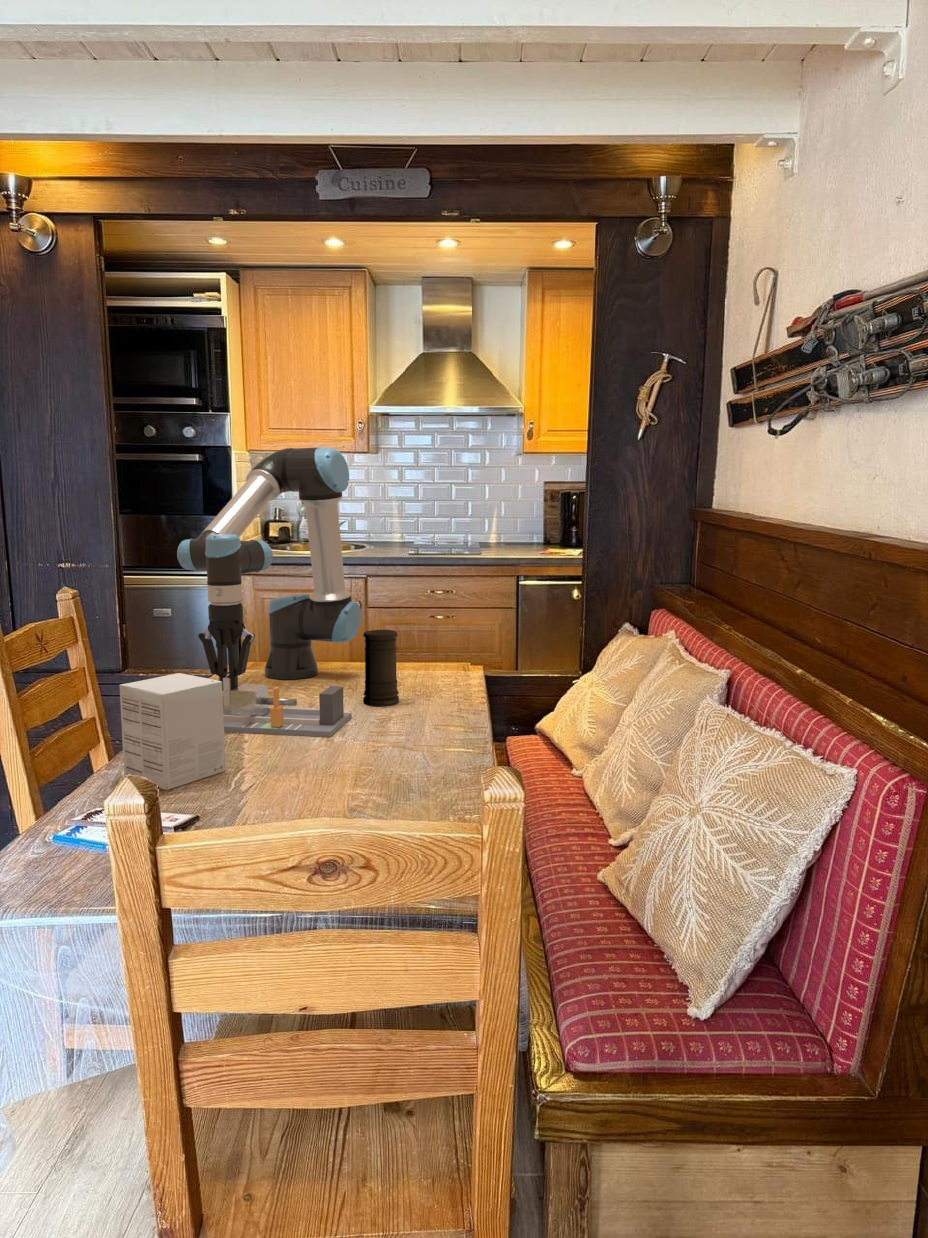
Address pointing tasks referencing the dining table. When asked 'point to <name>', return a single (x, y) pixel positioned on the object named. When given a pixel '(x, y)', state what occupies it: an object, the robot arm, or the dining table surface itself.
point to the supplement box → (173, 729)
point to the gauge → (254, 700)
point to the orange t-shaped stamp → (276, 710)
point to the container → (380, 668)
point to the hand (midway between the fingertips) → (229, 704)
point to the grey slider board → (296, 718)
